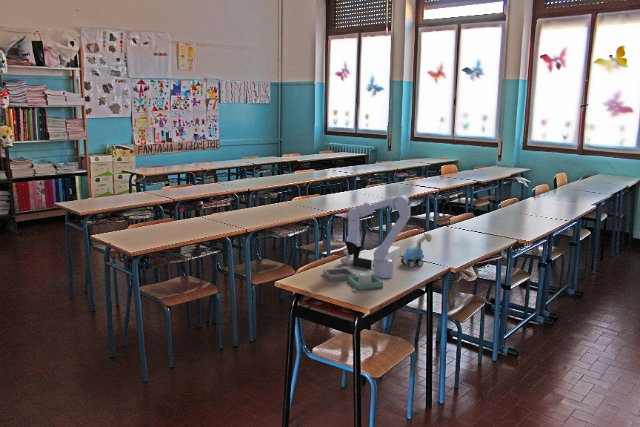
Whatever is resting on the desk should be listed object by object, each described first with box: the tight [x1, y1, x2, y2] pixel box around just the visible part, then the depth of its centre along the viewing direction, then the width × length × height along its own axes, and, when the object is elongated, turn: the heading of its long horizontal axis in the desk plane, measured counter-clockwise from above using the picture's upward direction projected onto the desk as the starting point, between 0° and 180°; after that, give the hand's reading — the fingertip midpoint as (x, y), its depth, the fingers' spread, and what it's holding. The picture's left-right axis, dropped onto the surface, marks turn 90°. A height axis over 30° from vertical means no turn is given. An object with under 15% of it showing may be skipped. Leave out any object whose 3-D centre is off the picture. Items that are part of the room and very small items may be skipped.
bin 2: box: [347, 274, 384, 292], centre depth 272 cm, size 13×13×3 cm
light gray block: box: [358, 272, 372, 284], centre depth 272 cm, size 5×4×5 cm
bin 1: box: [322, 267, 357, 283], centre depth 284 cm, size 13×13×3 cm
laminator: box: [352, 245, 401, 271], centre depth 313 cm, size 34×12×6 cm, turn 145°
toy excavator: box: [400, 232, 432, 268], centre depth 307 cm, size 9×17×17 cm, turn 112°
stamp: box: [339, 249, 353, 266], centre depth 307 cm, size 9×7×8 cm
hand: (353, 256), depth 289 cm, fingers open, 7 cm apart
